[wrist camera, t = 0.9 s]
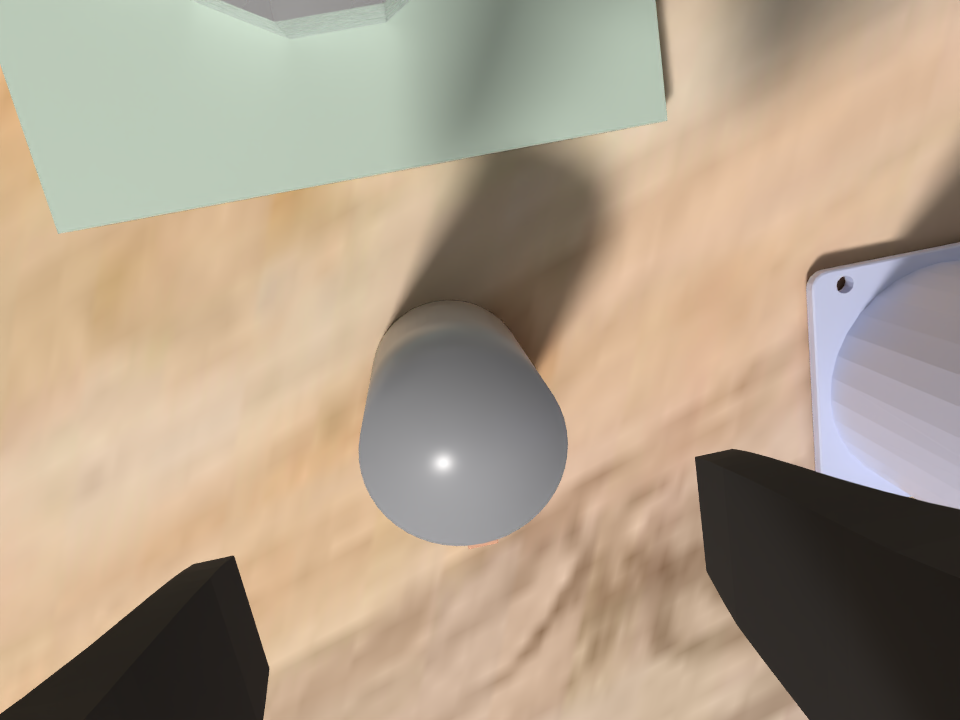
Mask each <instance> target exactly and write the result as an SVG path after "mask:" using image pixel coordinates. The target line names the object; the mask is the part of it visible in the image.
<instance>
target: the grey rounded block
mask: <svg viewBox="0 0 960 720" xmlns="http://www.w3.org/2000/svg"><path fill="white" fill-rule="evenodd" d="M567 449H568V440H567V430H566V425H565V421H564V417H563V414H562V412H561V409H560V407H559V405H558V403H557V401H556V399H555V397H554V396H553V394H552V393H551V391H550V390H549V388H548V387H547V385H546V384H545V382H544V381H543V379H542V378H541V376H540V375H539V373H538V372H537V370H536V369H535V367H534V366H533V364H532V363H531V361H530V360H529V358H528V357H527V355H526V354H525V352H524V351H523V349H522V348H521V346H520V345H519V343H518V342H517V340H516V339H515V337H514V336H513V334H512V333H511V331H510V330H509V329H508V327H507V326H506V325H505V324H504V323H503V322H502V321H501V320H500V319H499V318H498V317H496V316H495V315H494V314H493V313H491V312H489V311H488V310H486V309H484V308H482V307H480V306H477V305H475V304H472V303H468V302H464V301H456V300H442V301H434V302H430V303H427V304H423V305H421V306H418V307H416V308H414V309H412V310H410V311H409V312H407V313H405V314H404V315H403V316H401V317H400V318H399V319H398V320H397V321H396V322H395V323H393V324H392V325H391V327H390V328H389V329H388V330H387V332H386V333H385V334H384V336H383V338H382V340H381V341H380V343H379V346H378V348H377V351H376V354H375V358H374V362H373V367H372V373H371V378H370V384H369V389H368V395H367V400H366V406H365V411H364V417H363V422H362V428H361V433H360V441H359V463H360V468H361V474H362V477H363V480H364V483H365V486H366V488H367V490H368V492H369V494H370V496H371V498H372V499H373V501H374V502H375V504H376V505H377V507H378V508H379V509H380V510H381V511H382V513H383V514H384V515H385V516H386V517H387V518H388V519H389V520H391V521H392V522H393V523H394V524H395V525H396V526H398V527H400V528H401V529H403V530H404V531H406V532H407V533H409V534H411V535H413V536H416V537H418V538H420V539H423V540H426V541H429V542H433V543H437V544H442V545H452V546H468V548H469V549H472V548H477V547H481V546H486V545H491V544H495V543H498V539H499V538H502V537H504V536H507V535H509V534H511V533H512V532H514V531H516V530H518V529H520V528H521V527H522V526H524V525H525V524H527V523H528V522H529V521H531V520H532V519H533V518H534V517H535V516H536V515H537V514H538V513H539V512H540V511H541V510H542V509H543V508H544V507H545V505H546V504H547V503H548V502H549V500H550V499H551V497H552V496H553V494H554V493H555V491H556V489H557V487H558V485H559V483H560V481H561V478H562V475H563V472H564V469H565V464H566V459H567Z"/></svg>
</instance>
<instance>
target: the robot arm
mask: <svg viewBox="0 0 960 720" xmlns="http://www.w3.org/2000/svg"><path fill="white" fill-rule="evenodd" d="M843 276H844V277H845V286H844V287H843V288H842V289H841V290H839V291H838V290H837V287H836V286H837V282H838V280H839V279H840V278H841V277H843ZM806 294H807V314H808V333H809V353H810V373H811V392H812V412H813V432H814V451H815V471H813V470H809V469H806V468H803V467H799V466H796V465H793V464H790V463H786V462H783V461H780V460H776V459H773V458H769V457H766V456H762V455H759V454H755V453H751V452H747V451H742V450H736V449H730V450H726V451H721V452H716V453H712V454H707V455H702V456H698V457H695V462H696V472H697V482H698V492H699V502H700V512H701V521H702V531H703V541H704V551H705V561H706V570H707V573H708V575H709V576H710V578H711V580H712V582H713V584H714V586H715V587H716V589H717V591H718V593H719V595H720V596H721V598H722V600H723V602H724V604H725V605H726V607H727V609H728V610H729V612H730V614H731V615H732V617H733V619H734V621H735V622H736V624H737V625H738V627H739V628H740V630H741V631H742V632H743V634H744V635H745V636H746V638H747V639H748V640H749V642H750V643H751V644H752V646H753V647H754V648H755V650H756V651H757V652H758V654H759V655H760V656H761V658H762V659H763V660H764V662H765V663H766V664H767V665H768V667H769V668H770V669H771V671H772V672H773V673H774V675H775V676H776V677H777V678H778V680H779V681H780V682H781V684H782V685H783V686H784V688H785V689H786V690H787V691H788V693H789V694H790V695H791V697H792V698H793V699H794V701H795V702H796V703H797V704H798V706H799V707H800V708H801V710H802V711H803V712H804V714H805V715H806V716H807V717H808V719H809V720H960V242H958V243H953V244H948V245H943V246H938V247H933V248H928V249H923V250H918V251H913V252H908V253H903V254H898V255H893V256H888V257H883V258H878V259H873V260H868V261H863V262H858V263H853V264H848V265H843V266H838V267H833V268H828V269H823V270H820V271H817V272H815V273H814V274H813V275H812V276H811V277H810V278H809V280H808V282H807V287H806ZM911 496H912V497H914V498H916V499H913V498H909V497H911ZM268 676H269V666H268V663H267V660H266V656H265V653H264V650H263V647H262V644H261V640H260V637H259V634H258V631H257V628H256V624H255V621H254V618H253V615H252V612H251V608H250V605H249V602H248V599H247V596H246V592H245V589H244V586H243V583H242V580H241V576H240V573H239V570H238V567H237V564H236V560H235V557H234V556H229V557H225V558H220V559H215V560H211V561H206V562H201V563H197V564H193V565H191V566H190V567H188V568H187V569H185V570H183V571H182V572H181V573H179V574H178V575H176V576H175V577H174V578H172V579H171V580H170V581H169V582H167V583H166V584H165V585H163V586H162V587H161V588H160V589H158V590H157V591H156V592H155V593H153V594H152V595H151V596H150V597H149V598H147V599H146V600H145V601H144V602H142V603H141V604H140V605H139V606H138V607H136V608H135V609H134V610H133V611H132V612H130V613H129V614H128V615H127V616H125V617H124V618H123V619H122V620H121V621H119V622H118V623H117V624H116V625H115V626H113V627H112V628H111V629H110V630H108V631H107V632H106V633H105V634H104V635H102V636H101V637H100V638H99V639H98V640H96V641H95V642H94V643H93V644H91V645H90V646H89V647H88V648H86V649H85V650H84V651H83V652H81V653H80V654H79V655H77V656H76V657H75V658H73V659H72V660H71V661H70V662H68V663H67V664H66V665H64V666H63V667H62V668H61V669H59V670H58V671H57V672H55V673H54V674H53V675H51V676H50V677H49V678H48V679H46V680H45V681H44V682H42V683H41V684H40V685H38V686H37V687H36V688H35V689H33V690H32V691H31V692H29V693H28V694H27V695H26V696H24V697H23V698H22V699H20V700H19V701H17V702H16V703H15V704H13V705H12V706H11V707H9V708H8V709H6V710H5V711H4V712H2V713H1V714H0V720H263V716H264V709H265V702H266V693H267V685H268Z"/></svg>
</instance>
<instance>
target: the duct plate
mask: <svg viewBox="0 0 960 720" xmlns="http://www.w3.org/2000/svg"><path fill="white" fill-rule="evenodd" d="M0 65H1V68H2V71H3V73H4V76H5V79H6V82H7V85H8V88H9V91H10V94H11V97H12V100H13V103H14V106H15V109H16V112H17V114H18V117H19V120H20V123H21V126H22V129H23V132H24V135H25V138H26V141H27V144H28V147H29V150H30V153H31V155H32V158H33V161H34V164H35V167H36V170H37V173H38V176H39V179H40V182H41V185H42V188H43V191H44V194H45V196H46V199H47V202H48V205H49V208H50V211H51V214H52V217H53V220H54V223H55V226H56V229H57V232H58V234H59V233H65V232H71V231H77V230H83V229H88V228H94V227H99V226H104V225H110V224H115V223H120V222H126V221H131V220H137V219H142V218H147V217H153V216H158V215H164V214H169V213H174V212H180V211H185V210H190V209H196V208H201V207H207V206H212V205H217V204H223V203H228V202H233V201H239V200H244V199H250V198H255V197H260V196H266V195H271V194H277V193H282V192H287V191H293V190H298V189H303V188H309V187H314V186H320V185H325V184H330V183H336V182H341V181H347V180H352V179H357V178H363V177H368V176H373V175H379V174H384V173H390V172H395V171H400V170H406V169H411V168H417V167H422V166H427V165H433V164H438V163H443V162H449V161H454V160H460V159H465V158H470V157H476V156H481V155H486V154H492V153H497V152H503V151H508V150H513V149H519V148H524V147H530V146H535V145H540V144H546V143H551V142H556V141H562V140H567V139H573V138H578V137H583V136H589V135H594V134H600V133H605V132H610V131H616V130H621V129H626V128H632V127H637V126H643V125H648V124H653V123H658V122H663V121H667V111H666V101H665V91H664V81H663V71H662V61H661V51H660V41H659V31H658V21H657V11H656V1H655V0H410V1H409V2H408V3H407V4H406V5H405V6H404V7H403V8H402V9H401V10H399V11H398V12H397V13H396V14H395V15H394V16H393V17H392V18H391V19H390V20H389V21H387V22H386V23H381V24H375V25H369V26H363V27H358V28H352V29H346V30H340V31H335V32H329V33H323V34H318V35H312V36H306V37H300V38H295V39H288V38H285V37H283V36H280V35H278V34H275V33H272V32H270V31H267V30H265V29H262V28H260V27H257V26H255V25H252V24H249V23H247V22H244V21H242V20H239V19H237V18H234V17H232V16H229V15H226V14H224V13H221V12H219V11H216V10H214V9H211V8H209V7H206V6H203V5H201V4H198V3H196V2H193V1H191V0H0Z"/></svg>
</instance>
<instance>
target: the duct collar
mask: <svg viewBox="0 0 960 720" xmlns="http://www.w3.org/2000/svg"><path fill="white" fill-rule="evenodd" d="M191 1H193V2H196V3H198V4H201V5H203V6H206V7H209V8H211V9H214V10H216V11H219V12H221V13H224V14H226V15H229V16H232V17H234V18H237V19H239V20H242V21H244V22H247V23H249V24H252V25H255V26H257V27H260V28H262V29H265V30H267V31H270V32H272V33H275V34H278V35H280V36H283V37H285V38H288V39H295V38H300V37H306V36H312V35H318V34H323V33H329V32H335V31H340V30H346V29H352V28H358V27H363V26H369V25H375V24H381V23H386V22H387V21H389V20H390V19H391V18H392V17H393V16H394V15H395V14H396V13H397V12H398V11H399V10H401V9H402V8H403V7H404V6H405V5H406V4H407V3H408V2H409V1H410V0H191Z"/></svg>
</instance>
